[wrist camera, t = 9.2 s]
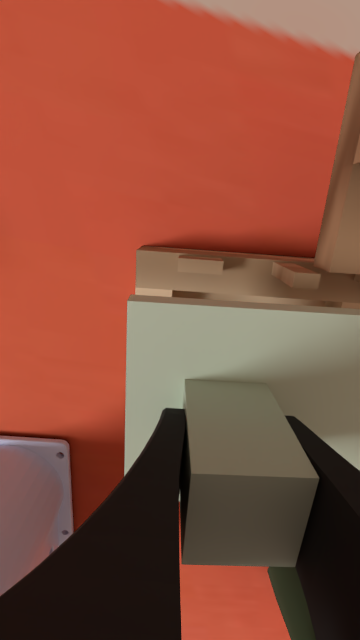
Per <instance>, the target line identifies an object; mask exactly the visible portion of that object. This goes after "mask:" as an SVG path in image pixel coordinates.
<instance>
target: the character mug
mask: <svg viewBox="0 0 360 640" xmlns="http://www.w3.org/2000/svg"><path fill="white" fill-rule="evenodd" d="M268 574H269V578H270V581H271V584H272V587H273V590H274V593H275V596H276V600H277V602H278V605H279V608H280V610H281V613H282V616H283V619H284V621H285V624H286V627H287V629H288V632H289V635H290V638H291V640H316V637H315V633H314V629H313V625H312V622H311V618H310V614H309V610H308V606H307V602H306V599H305V596H304V592H303V589H302V586H301V583H300V579H299V577H298V574H297V571H296V568H295V567H269V568H268Z"/></svg>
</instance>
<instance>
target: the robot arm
mask: <svg viewBox="0 0 360 640" xmlns="http://www.w3.org/2000/svg"><path fill="white" fill-rule="evenodd" d="M284 416H285V417H286V419H287V421H288V423H289V425H290V426H291V428H292V430H293V432H294V434H295V435H296V437H297V439H298V441H299V443H300V444H301V446H302V448H303V450H304V451H305V453H306V455H307V457H308V459H309V460H310V462H311V464H312V466H313V468H314V469H315V471H316V473H317V475H318V477H319V482H318V486H317V489H316V493H315V496H314V500H313V504H312V507H311V511H310V515H309V518H308V522H307V525H306V529H305V533H304V536H303V540H302V544H301V547H300V551H299V554H298V558H297V562H296V565H295V568H296V571H297V574H298V577H299V579H300V583H301V586H302V589H303V592H304V596H305V599H306V602H307V606H308V610H309V614H310V618H311V622H312V625H313V629H314V633H315V637H316V640H360V471H359V470H358V469H357V468H356V467H354V466H353V465H352V464H351V463H349V462H348V461H347V460H346V459H344V458H343V457H342V456H341V455H340V454H338V453H337V452H336V451H335V450H334V449H333V448H331V447H330V446H329V445H328V444H327V443H325V442H324V441H323V440H322V439H321V438H320V437H318V436H317V435H316V434H315V433H314V432H313V431H311V430H310V429H309V428H308V427H307V426H306V425H304V424H303V423H302V422H301V421H300V420H298V419H297V418H296V417H294V416H286V415H284ZM185 427H186V415H185V409H178V408H165V409H164V410H162V413H161V416H160V419H159V421H158V424H157V426H156V428H155V430H154V432H153V434H152V435H151V437H150V439H149V440H148V442H147V444H146V445H145V447H144V449H143V450H142V452H141V454H140V455H139V456H138V458H137V459H136V461H135V462H134V464H133V465H132V466H131V468H130V469H129V471H128V472H127V474H126V475H125V476H124V477H123V479H122V480H121V481H120V483H119V484H118V485H117V486H116V488H115V489H114V490H113V491H112V492H111V493H110V495H109V496H108V497H107V498H106V499H105V501H104V502H103V503H102V504H101V505H100V506H99V507H98V508H97V509H96V510H95V511H94V512H93V513H92V515H91V516H90V517H89V518H88V519H87V520H86V521H85V522H84V523H83V524H82V525H81V526H80V527H79V528H78V529H77V530H76V531H75V532H74V529H73V509H72V489H71V469H70V449H69V444H68V442H67V441H65V440H61V439H45V438H30V437H15V436H0V640H181V609H180V570H179V494H180V483H181V472H182V460H183V449H184V438H185ZM59 452H61V453H63V454H60V453H59ZM58 546H59V547H58Z"/></svg>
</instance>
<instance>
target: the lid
mask: <svg viewBox="0 0 360 640" xmlns="http://www.w3.org/2000/svg"><path fill="white" fill-rule="evenodd" d="M165 408H178V409H185V415H186V427H185V438H184V449H183V460H182V472H181V483H180V494H179V501H180V518H181V555H182V564H188V565H228V566H269V567H295V565H296V562H297V558H298V554H299V551H300V547H301V544H302V540H303V536H304V533H305V529H306V525H307V522H308V518H309V515H310V511H311V507H312V504H313V500H314V496H315V493H316V489H317V486H318V482H319V477H318V475H317V473H316V471H315V469H314V468H313V466H312V464H311V462H310V460H309V459H308V457H307V455H306V453H305V451H304V450H303V448H302V446H301V444H300V443H299V441H298V439H297V437H296V435H295V434H294V432H293V430H292V428H291V426H290V425H289V423H288V421H287V419H286V417H285V416H284V415H286V416H294V417H296V418H297V419H298V420H300V421H301V422H302V423H303V424H304V425H306V426H307V427H308V428H309V429H310V430H311V431H313V432H314V433H315V434H316V435H317V436H318V437H320V438H321V439H322V440H323V441H324V442H325V443H327V444H328V445H329V446H330V447H331V448H333V449H334V450H335V451H336V452H337V453H338V454H340V455H341V456H342V457H343V458H344V459H346V460H347V461H348V462H349V463H351V464H352V465H353V466H354V467H356V468H357V469H358V470H359V471H360V309H351V308H335V307H319V306H304V305H288V304H272V303H257V302H241V301H225V300H209V299H194V298H178V297H162V296H147V295H130V297H129V299H128V301H127V351H126V406H125V462H124V476H125V475H126V474H127V472H128V471H129V469H130V468H131V466H132V465H133V464H134V462H135V461H136V459H137V458H138V456H139V455H140V454H141V452H142V450H143V449H144V447H145V445H146V444H147V442H148V440H149V439H150V437H151V435H152V434H153V432H154V430H155V428H156V426H157V424H158V421H159V419H160V416H161V413H162V410H164V409H165Z"/></svg>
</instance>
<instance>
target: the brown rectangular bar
mask: <svg viewBox="0 0 360 640" xmlns="http://www.w3.org/2000/svg"><path fill="white" fill-rule="evenodd" d="M313 266H314V267H317V268H319V269H322V270H325V271H327V272H333V273H347V274H360V52H359V53H358V54H357V55H356V56H355V61H354V66H353V71H352V76H351V81H350V86H349V91H348V96H347V101H346V106H345V111H344V116H343V121H342V126H341V131H340V136H339V140H338V145H337V150H336V155H335V160H334V165H333V170H332V175H331V180H330V185H329V190H328V195H327V200H326V205H325V210H324V215H323V220H322V225H321V229H320V234H319V239H318V244H317V249H316V254H315V259H314V264H313Z"/></svg>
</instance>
